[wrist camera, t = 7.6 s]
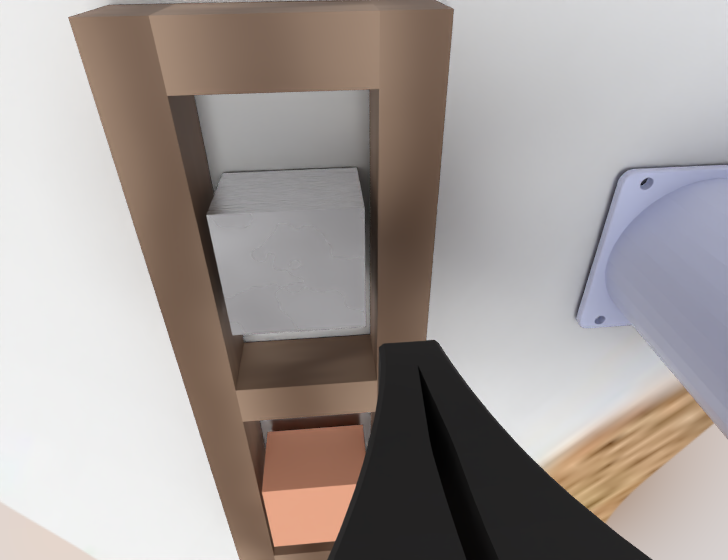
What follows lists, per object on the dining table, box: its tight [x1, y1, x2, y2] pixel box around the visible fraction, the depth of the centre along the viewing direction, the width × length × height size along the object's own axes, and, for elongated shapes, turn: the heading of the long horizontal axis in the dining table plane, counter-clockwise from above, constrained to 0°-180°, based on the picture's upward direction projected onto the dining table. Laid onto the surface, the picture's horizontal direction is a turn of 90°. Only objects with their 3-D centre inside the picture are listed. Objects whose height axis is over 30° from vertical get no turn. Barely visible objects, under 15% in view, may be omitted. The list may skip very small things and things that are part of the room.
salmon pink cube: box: [262, 425, 366, 547], centre depth 26 cm, size 5×5×3 cm
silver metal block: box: [206, 167, 366, 335], centre depth 18 cm, size 5×5×3 cm
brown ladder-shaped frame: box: [68, 0, 454, 560], centre depth 23 cm, size 10×30×3 cm, turn 1°
